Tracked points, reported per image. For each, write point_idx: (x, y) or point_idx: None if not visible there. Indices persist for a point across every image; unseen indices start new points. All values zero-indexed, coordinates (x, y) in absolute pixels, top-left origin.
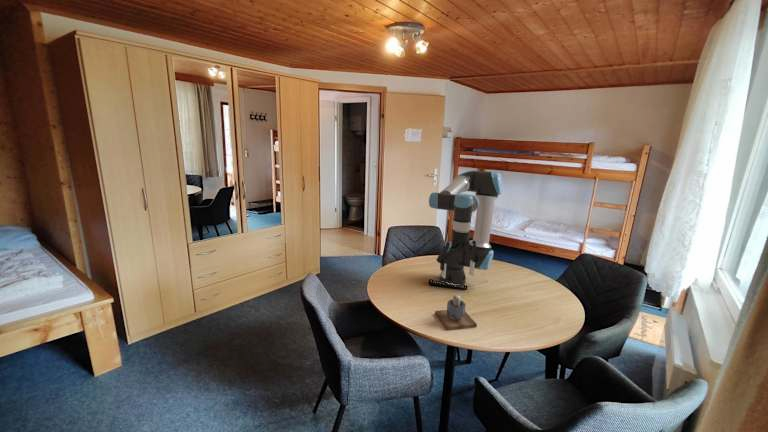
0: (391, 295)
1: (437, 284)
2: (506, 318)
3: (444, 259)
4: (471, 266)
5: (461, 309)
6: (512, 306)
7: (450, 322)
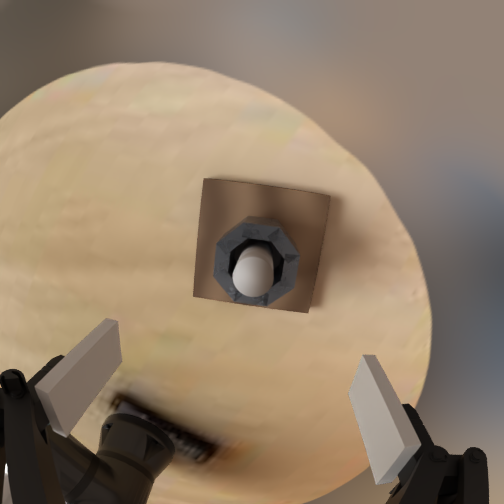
0: None
1: (192, 441)
2: (81, 203)
3: (436, 491)
4: (83, 383)
5: (253, 221)
6: (38, 260)
7: (299, 220)
